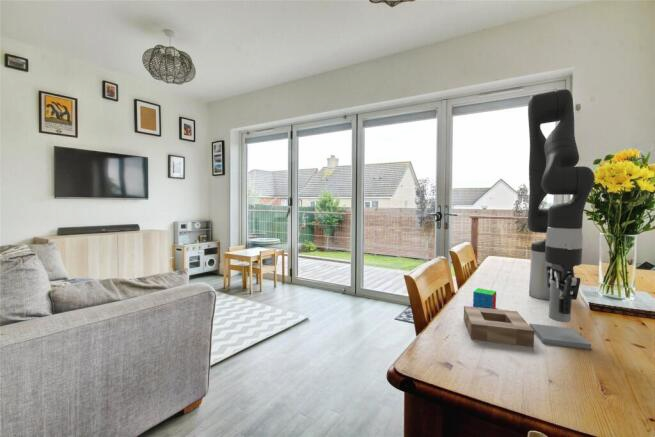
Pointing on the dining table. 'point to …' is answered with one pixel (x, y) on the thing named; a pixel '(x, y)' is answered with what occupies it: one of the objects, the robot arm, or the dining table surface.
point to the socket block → (498, 326)
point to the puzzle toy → (484, 298)
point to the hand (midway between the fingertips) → (560, 309)
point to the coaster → (560, 336)
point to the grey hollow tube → (556, 305)
